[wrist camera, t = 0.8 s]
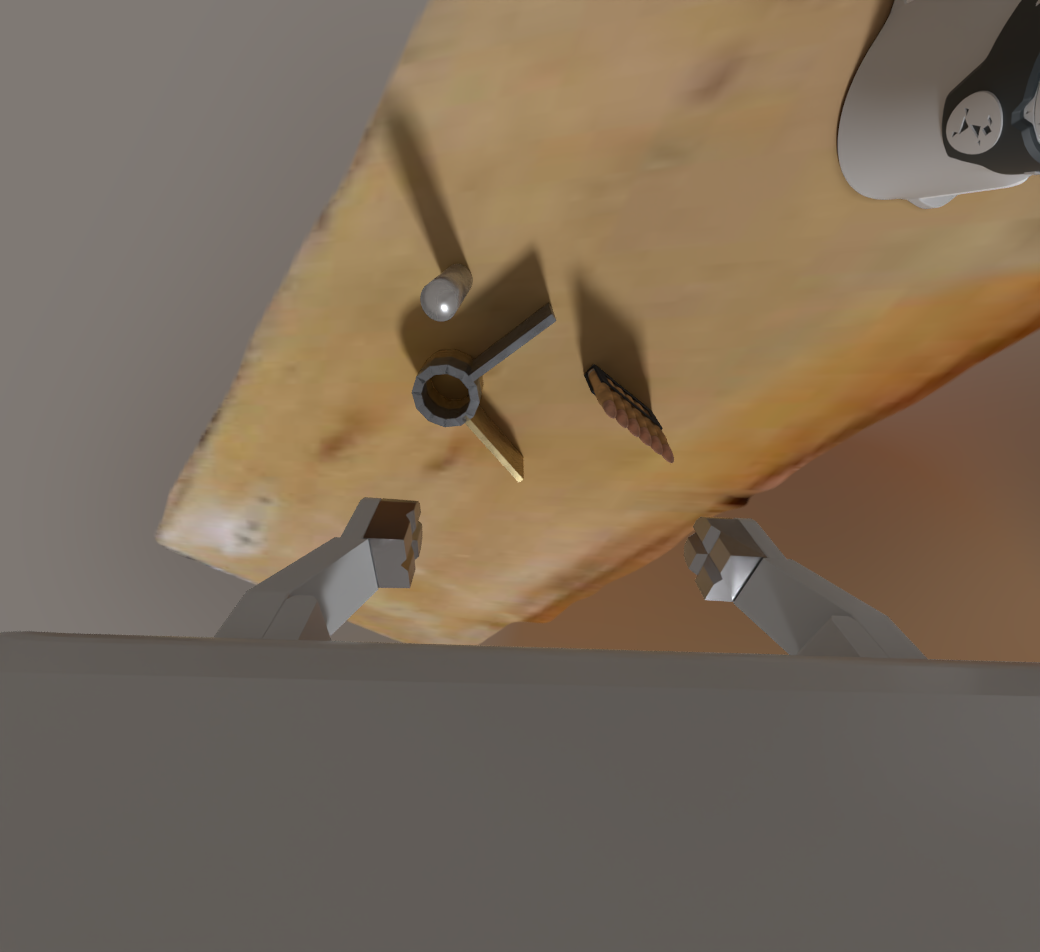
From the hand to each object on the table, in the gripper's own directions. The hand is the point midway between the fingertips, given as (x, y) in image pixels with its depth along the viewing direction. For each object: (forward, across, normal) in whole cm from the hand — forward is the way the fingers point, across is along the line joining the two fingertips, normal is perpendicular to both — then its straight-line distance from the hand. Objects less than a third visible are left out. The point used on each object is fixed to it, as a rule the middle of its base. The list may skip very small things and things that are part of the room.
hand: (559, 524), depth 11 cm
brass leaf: (+37, +4, +14) cm, 40 cm away
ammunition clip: (+37, -13, +10) cm, 41 cm away
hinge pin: (+37, +7, -1) cm, 38 cm away
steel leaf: (+37, +4, +6) cm, 38 cm away
